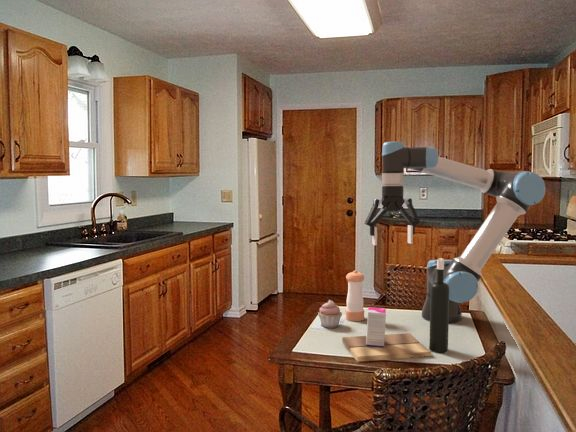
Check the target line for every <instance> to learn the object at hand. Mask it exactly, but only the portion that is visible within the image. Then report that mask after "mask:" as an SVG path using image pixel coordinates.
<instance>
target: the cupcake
mask: <svg viewBox="0 0 576 432" xmlns="http://www.w3.org/2000/svg"><path fill="white" fill-rule="evenodd" d="M317 315H318V318H319V319H320V324H321V327H323V328H326V329H335V328H338V327H339V325H340V321H341V318H342V315H343V313H342V311H341V309H340V307H339V306H338V305H337V304H336V303H335V302H334V301H333V300H331V299H328V300H327V302H325V303H324V304H322V305H321V307H319V311H318V312H317Z"/></svg>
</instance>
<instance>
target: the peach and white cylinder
mask: <svg viewBox="0 0 576 432" xmlns="http://www.w3.org/2000/svg"><path fill="white" fill-rule="evenodd" d="M345 278H346V281H347V285H348V286H347V288H348V289H347V295H346V309H345V320H347V321H349V322H362V321H364V320H365V308H364V297H363V295H364V294H363V281H364V280H365V275H364V274H363V273H361V272H360V271H359V272H358V271H357V270H353V271H352V272H349V273H347V274H346V275H345ZM361 320H362V321H361Z"/></svg>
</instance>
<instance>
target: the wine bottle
mask: <svg viewBox="0 0 576 432" xmlns="http://www.w3.org/2000/svg"><path fill="white" fill-rule="evenodd" d="M436 260H437V282H435V283H433V284H432V285H431V297H430V320H429V348H428V349H429V350H430V351H431V353H432V352H433V353H436V354H437V353H438V354H444V353H448V351H449V286H448V284H446V283H444V282H443V276H444V260H445V259H444V258H441V257H439V258H437V259H436Z"/></svg>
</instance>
